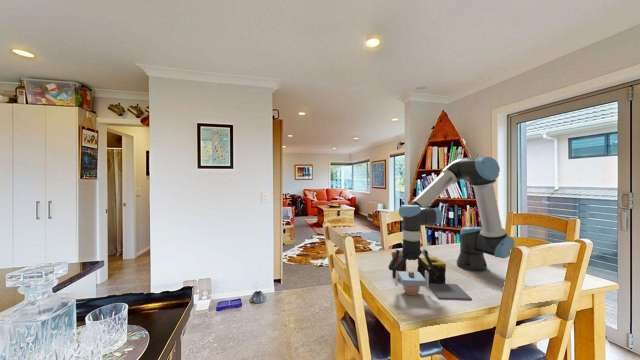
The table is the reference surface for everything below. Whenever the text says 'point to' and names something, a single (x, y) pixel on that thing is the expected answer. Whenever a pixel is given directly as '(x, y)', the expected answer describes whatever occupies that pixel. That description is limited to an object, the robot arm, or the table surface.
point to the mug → (403, 266)
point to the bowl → (411, 289)
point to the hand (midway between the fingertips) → (411, 285)
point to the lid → (411, 278)
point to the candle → (436, 275)
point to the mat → (449, 291)
